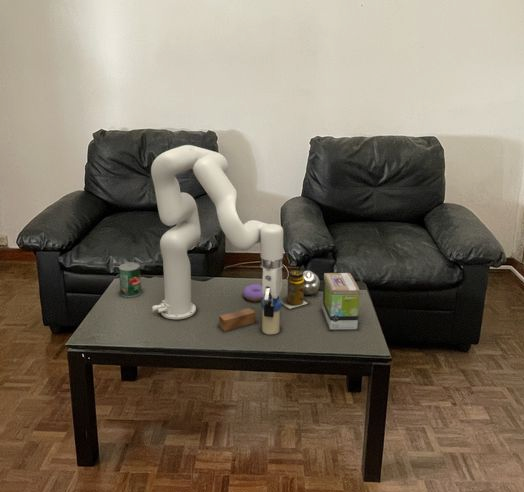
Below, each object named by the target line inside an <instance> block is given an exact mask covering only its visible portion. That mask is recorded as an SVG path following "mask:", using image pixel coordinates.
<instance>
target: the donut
mask: <svg viewBox="0 0 524 492" xmlns="http://www.w3.org/2000/svg"><path fill="white" fill-rule="evenodd" d="M242 294H243V297H244V299H246V300H248V301H249V302H262V299H263V298H264V297H263V295H262V284H261V285H260V284H249V285H247V286H246V287H245V288H244V289H243V290H242Z"/></svg>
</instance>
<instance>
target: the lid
mask: <svg viewBox="0 0 524 492" xmlns="http://www.w3.org/2000/svg"><path fill="white" fill-rule="evenodd" d="M269 297H272V296H270V295H269ZM281 300H282V299H281V298H280V297H279V298H278V297H277V298H276V299H275V298H274V299H273V306H274V312H275V311H278V310H280V311H281V309H282V307H283V304H282V301H281ZM269 301H270V302H271V299H269ZM260 307H261V309H263V310H264V298H263V299H262V301H260Z"/></svg>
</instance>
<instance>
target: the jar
mask: <svg viewBox="0 0 524 492" xmlns="http://www.w3.org/2000/svg"><path fill="white" fill-rule="evenodd" d="M261 309H262V308H261ZM280 328H281V309H280V310H278V311H275V312H274V317H265V316H264V310H263V309H262V311H261V331H262V333H264V334H266V335H275V334H278V333H279V332H280Z"/></svg>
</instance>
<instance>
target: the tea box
mask: <svg viewBox="0 0 524 492" xmlns="http://www.w3.org/2000/svg"><path fill="white" fill-rule="evenodd" d="M360 291H361V290H360V287H359V285H358V284H357V282H356V281H355V279H354V277H353V275H352V274H351V272H324V273H323V289H322V308H321V309H322V312H323V315H324V317H325V320H326V323H327V325H328V328H329V330H333V331H334V330H335V331H337V330H357V329H358V327H359V326H358V325H359V323H358V322H359V311H360V309H359V308H360V297H361V295H360V293H361V292H360Z"/></svg>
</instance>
